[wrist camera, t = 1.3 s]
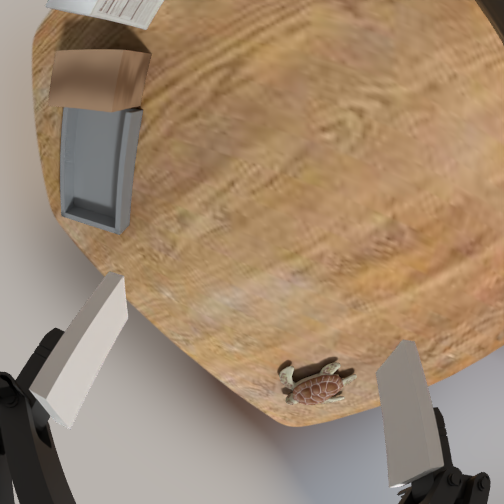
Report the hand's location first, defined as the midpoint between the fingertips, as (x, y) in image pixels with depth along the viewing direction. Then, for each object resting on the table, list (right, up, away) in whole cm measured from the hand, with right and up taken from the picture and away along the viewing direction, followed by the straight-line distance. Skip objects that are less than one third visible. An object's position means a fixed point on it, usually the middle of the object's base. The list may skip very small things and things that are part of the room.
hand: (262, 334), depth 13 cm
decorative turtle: (+13, -23, +44) cm, 51 cm away
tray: (-22, +16, +23) cm, 36 cm away
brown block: (-18, +26, +17) cm, 36 cm away
